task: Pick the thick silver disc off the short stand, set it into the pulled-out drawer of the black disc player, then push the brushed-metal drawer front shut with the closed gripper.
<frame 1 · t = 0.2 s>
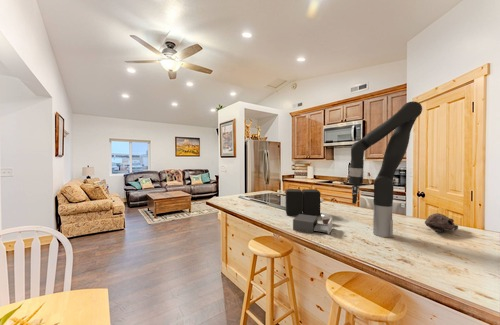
hand: (354, 202, 130), 17 cm above the counter, tool pointing down, fingers open, 8 cm apart
drawer: (323, 224, 131), point 4 cm above the counter, slide at 8.0 cm
brown toy animal: (439, 232, 127), on the counter
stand: (325, 223, 144), on the counter
disc: (325, 218, 144), point 3 cm above the counter, touching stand
player: (305, 227, 136), on the counter
speaker: (302, 214, 168), on the counter
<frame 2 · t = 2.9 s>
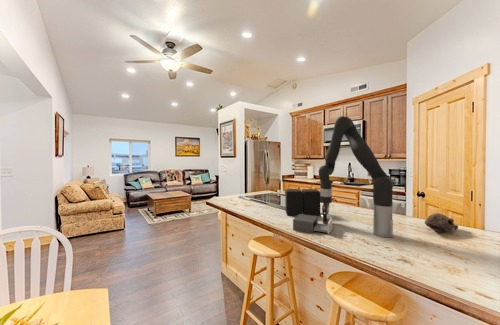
hand: (325, 220, 144), 2 cm above the counter, tool pointing down, fingers closed on disc, 6 cm apart
disc: (325, 218, 144), point 4 cm above the counter, touching gripper, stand
everything else where it was.
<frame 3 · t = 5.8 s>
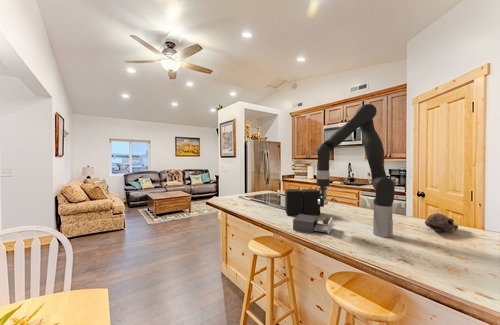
hand: (322, 205, 131), 15 cm above the counter, tool pointing down, fingers closed on disc, 6 cm apart
disc: (322, 203, 131), point 17 cm above the counter, touching gripper
when the fingers open (2 cm above the counter, at t = 8.7 s): disc drops 2 cm, resting on drawer.
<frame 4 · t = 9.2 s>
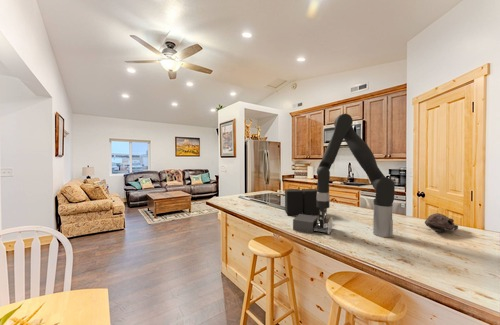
hand: (322, 225, 131), 3 cm above the counter, tool pointing down, fingers open, 8 cm apart
drawer: (323, 224, 131), point 4 cm above the counter, slide at 8.0 cm, touching disc
disc: (322, 227, 131), point 2 cm above the counter, touching drawer
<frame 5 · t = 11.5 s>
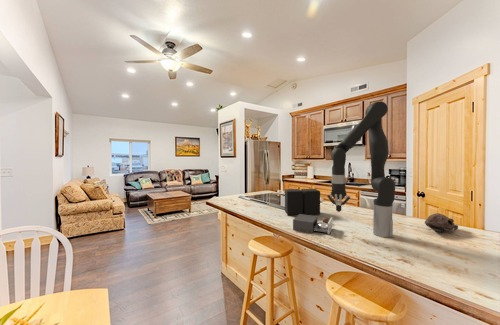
hand: (338, 211, 127), 13 cm above the counter, tool pointing down, fingers closed
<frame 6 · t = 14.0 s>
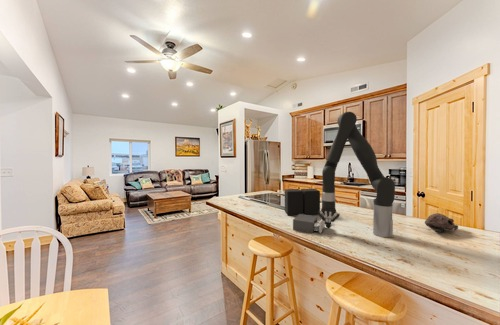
hand: (328, 228, 130), 2 cm above the counter, tool pointing down, fingers closed
drawer: (315, 223, 133), point 4 cm above the counter, slide at 3.3 cm, touching disc, hand
disc: (314, 226, 133), point 2 cm above the counter, touching drawer
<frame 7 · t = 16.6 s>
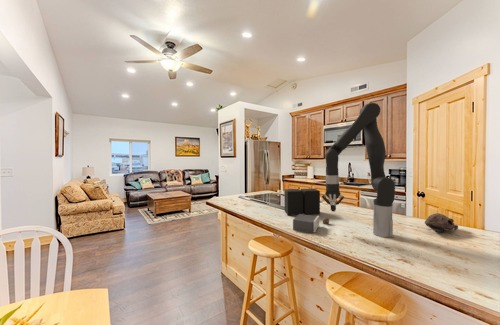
hand: (333, 211, 130), 12 cm above the counter, tool pointing down, fingers closed
drawer: (309, 222, 135), point 4 cm above the counter, slide at 0.0 cm, touching disc
disc: (309, 225, 135), point 2 cm above the counter, touching drawer
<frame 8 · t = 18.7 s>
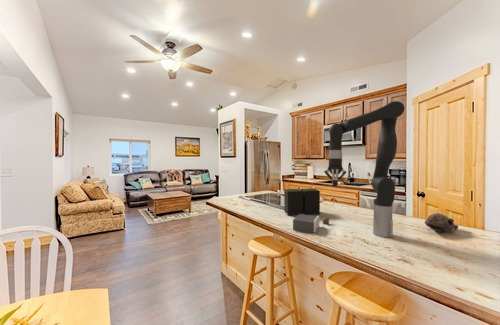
hand: (335, 186, 130), 27 cm above the counter, tool pointing down, fingers closed
at the end: drawer slide at 0.0 cm; disc inside the target area on the player (2.0 cm from its centre), point 1.7 cm above the player's base; the gripper is holding nothing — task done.
